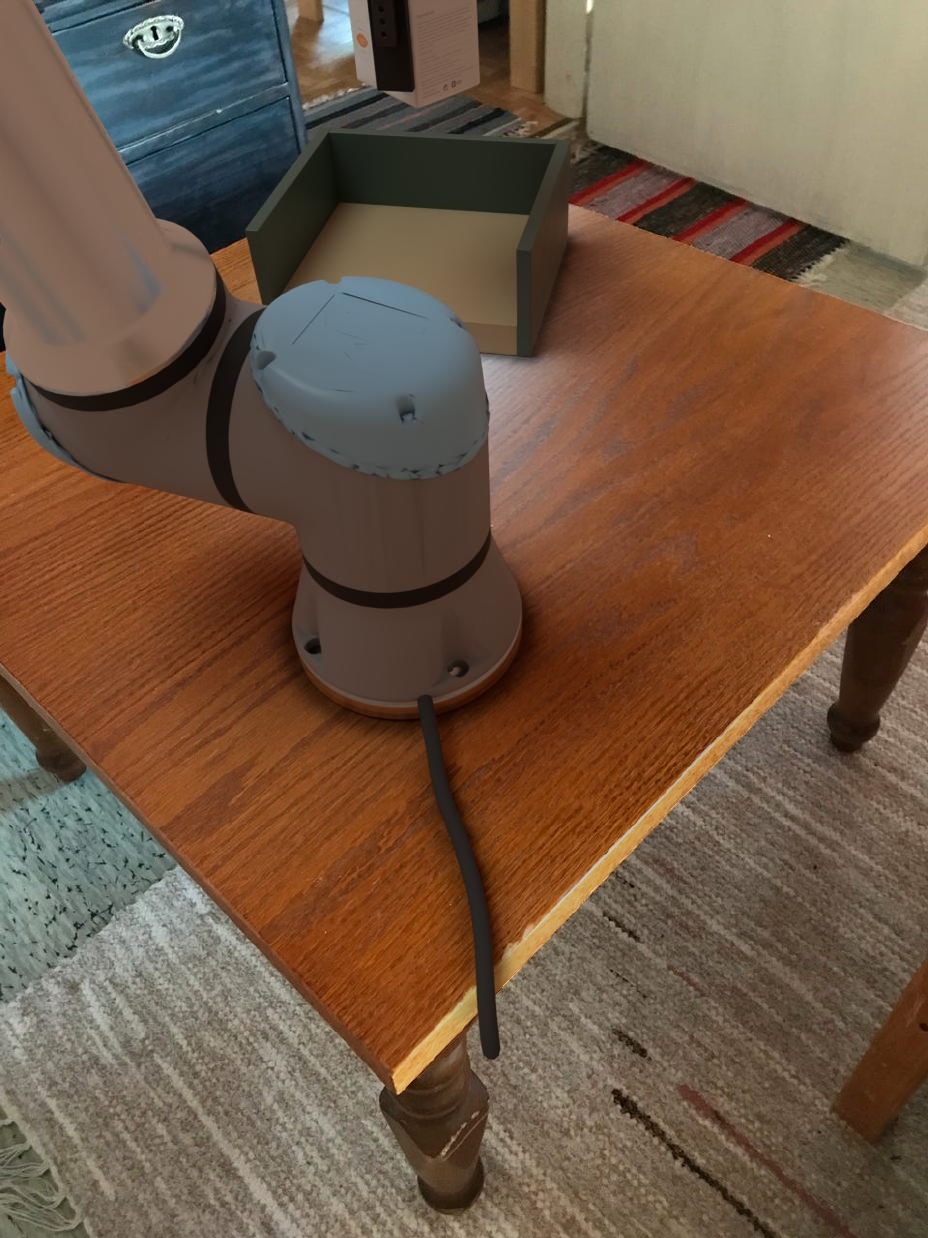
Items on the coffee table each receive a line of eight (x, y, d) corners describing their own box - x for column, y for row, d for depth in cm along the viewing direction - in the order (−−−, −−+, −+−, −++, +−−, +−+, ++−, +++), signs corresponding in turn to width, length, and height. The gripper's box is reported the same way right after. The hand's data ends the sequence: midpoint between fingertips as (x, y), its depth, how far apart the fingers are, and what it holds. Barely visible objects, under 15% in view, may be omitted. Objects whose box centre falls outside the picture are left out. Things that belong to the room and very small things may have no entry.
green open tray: (530, 357, 86) (530, 250, 79) (268, 332, 91) (244, 229, 83) (567, 241, 99) (570, 139, 91) (335, 224, 103) (320, 126, 96)
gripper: (388, -316, 51) (424, 127, 68) (484, -370, 65) (493, 9, 82) (253, -311, 52) (321, 121, 69) (375, -365, 66) (407, 7, 83)
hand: (414, 61), depth 76 cm, fingers closed on small box, 10 cm apart
